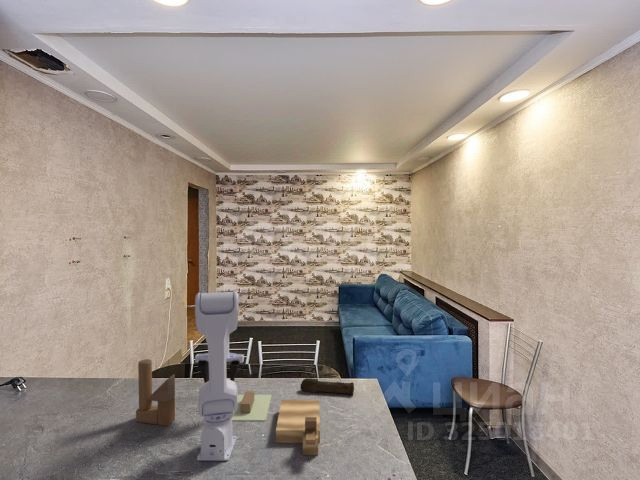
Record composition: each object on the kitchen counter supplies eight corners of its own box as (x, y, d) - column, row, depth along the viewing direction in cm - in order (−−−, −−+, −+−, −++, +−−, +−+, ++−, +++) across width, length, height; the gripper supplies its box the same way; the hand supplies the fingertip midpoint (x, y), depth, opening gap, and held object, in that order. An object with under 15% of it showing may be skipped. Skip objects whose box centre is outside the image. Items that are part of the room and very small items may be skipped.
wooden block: (168, 426, 101) (167, 366, 101) (135, 422, 104) (134, 363, 103) (175, 419, 105) (175, 361, 104) (144, 415, 107) (143, 358, 106)
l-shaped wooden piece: (316, 444, 87) (316, 430, 87) (304, 444, 87) (304, 430, 87) (316, 430, 93) (316, 417, 93) (305, 430, 93) (305, 417, 93)
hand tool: (354, 391, 125) (354, 378, 124) (353, 397, 121) (353, 384, 120) (302, 387, 127) (302, 375, 127) (300, 392, 123) (300, 380, 123)
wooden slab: (320, 455, 90) (320, 438, 90) (273, 454, 90) (273, 438, 90) (319, 410, 111) (319, 397, 111) (281, 410, 111) (281, 396, 111)
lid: (265, 423, 105) (265, 410, 105) (226, 423, 105) (226, 410, 105) (271, 397, 120) (271, 386, 120) (237, 397, 120) (237, 386, 120)
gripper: (245, 337, 111) (245, 378, 112) (200, 336, 111) (200, 378, 112) (241, 345, 104) (241, 389, 105) (192, 344, 104) (192, 388, 105)
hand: (219, 384), depth 108 cm, fingers open, 7 cm apart
